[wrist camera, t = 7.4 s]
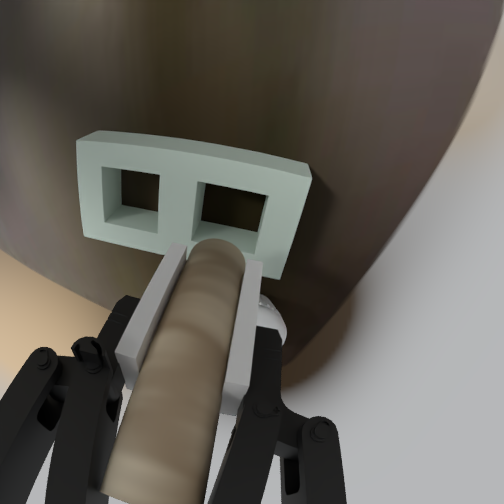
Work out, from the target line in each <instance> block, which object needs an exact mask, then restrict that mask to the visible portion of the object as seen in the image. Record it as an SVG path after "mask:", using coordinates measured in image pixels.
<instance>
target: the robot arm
mask: <svg viewBox="0 0 504 504" xmlns="http://www.w3.org/2000/svg"><path fill="white" fill-rule="evenodd" d="M186 255H187V245H182V244H178V243H173V242H172V244H171V245H170V247H169V249H168V251H167V252H166V254H165V256H164V258H163V259H162V261H161V263H160V265H159V267H158V268H157V270H156V272H155V274H154V276H153V277H152V279H151V281H150V283H149V285H148V287H147V289H146V290H145V292H144V294H143V296H142V298H141V299H139V298H135V297H131V296H128V295H126V296H124V297H123V298H122V299H120V300H119V301H118V302H117V303H116V305H115V307H114V308H113V310H112V313H111V314H110V315H109V317H108V320H107V321H106V323H105V324H104V326H103V328H102V330H101V332H100V333H99V335H98V337H97V338H94V337H83V338H80V339H78V340H77V341H76V342H74V344H73V345H72V347H71V349H72V352H73V354H74V356H75V357H69V356H57V355H56V352H54V351H53V350H52V349H51V348H48V347H40V348H38V349H36V350H35V351H34V352H33V353H32V354H31V355H30V356H29V358H28V359H27V360H26V362H25V364H24V365H23V366H22V368H21V369H20V371H19V372H18V374H17V375H16V377H15V378H14V380H13V381H12V383H11V384H10V386H9V387H8V389H7V391H6V392H5V394H4V395H3V397H2V399H1V400H0V504H26V502H27V499H28V496H29V494H30V492H31V490H32V487H33V485H34V483H35V480H36V478H37V476H38V474H39V472H40V469H41V467H42V465H43V463H44V461H45V458H46V457H47V455H48V452H49V450H50V448H51V447H52V444H53V443H54V447H53V452H52V457H51V463H50V468H49V475H48V481H47V489H46V497H45V504H108V499H109V496H108V495H106V494H104V493H101V492H100V488H101V485H102V481H103V478H104V474H105V471H106V468H107V465H108V461H109V458H110V455H111V452H112V449H113V446H114V442H115V439H116V433H117V427H118V421H119V415H120V410H121V405H122V400H123V397H122V389H123V386H124V384H126V387H127V389H130V390H133V388H134V385H135V383H136V380H137V377H138V375H139V372H140V370H141V367H142V364H143V362H144V359H145V357H146V354H147V352H148V349H149V347H150V344H151V342H152V339H153V337H154V334H155V332H156V330H157V327H158V325H159V322H160V320H161V318H162V315H163V313H164V310H165V308H166V306H167V303H168V301H169V299H170V297H171V294H172V292H173V290H174V287H175V285H176V283H177V281H178V278H179V276H180V274H181V272H182V270H183V267H184V265H185V263H186ZM262 267H263V262H261V261H256V260H251V259H247V262H246V266H245V271H244V275H243V281H242V286H241V291H240V297H239V302H238V308H237V313H236V319H235V324H234V330H233V335H232V340H231V346H230V351H229V357H228V362H227V368H226V374H225V379H224V385H223V390H222V402H221V408H220V413H222V414H227V415H233V416H236V415H237V418H236V424H235V426H234V429H233V430H232V432H231V433H232V435H231V438H230V441H229V444H228V447H227V450H226V453H225V456H224V459H223V461H222V464H221V467H220V470H219V473H218V476H217V479H216V482H215V484H214V487H213V490H212V493H211V496H210V498H209V501H208V504H261V500H262V497H263V493H264V490H265V486H266V482H267V479H268V475H269V471H270V467H271V463H272V459H273V455H274V454H275V455H277V456H280V470H281V471H280V472H281V500H282V501H281V502H282V504H347V502H346V492H345V483H344V474H343V466H342V458H341V451H340V444H339V437H338V431H337V428H336V426H335V424H334V423H333V422H332V421H331V420H329V419H327V418H326V417H321V416H316V417H312V418H310V419H309V418H306V417H304V416H301V415H299V414H297V413H294V412H293V411H291V410H289V409H288V408H287V407H286V406H285V404H284V403H283V401H282V399H281V393H280V390H281V365H282V362H281V360H282V338H281V336H280V334H279V331H278V329H272V328H267V327H262V326H256V323H257V314H258V305H259V295H260V286H261V277H262ZM54 441H55V442H54Z"/></svg>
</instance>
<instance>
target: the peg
mask: <svg viewBox="0 0 504 504" xmlns="http://www.w3.org/2000/svg"><path fill="white" fill-rule="evenodd" d="M245 266H246V262H245V258H244V256H243V254H242V252H241V251H240V250H239V249H238V248H237V247H236V246H235V245H233V244H232V243H230V242H228V241H225V240H222V239H216V238H212V239H205V240H202V241H200V242H199V243H197V244H196V245H195V246H194V247H193V248H192V250H191V252H190V254H189V256H188V259H187V261H186V263H185V265H184V267H183V270H182V272H181V274H180V276H179V278H178V281H177V283H176V285H175V287H174V290H173V292H172V294H171V297H170V299H169V301H168V303H167V306H166V308H165V310H164V313H163V315H162V318H161V320H160V322H159V325H158V327H157V330H156V332H155V334H154V337H153V339H152V342H151V344H150V347H149V349H148V352H147V354H146V357H145V359H144V362H143V364H142V367H141V370H140V372H139V375H138V377H137V380H136V383H135V385H134V388H133V391H132V394H131V397H130V399H129V402H128V405H127V407H126V411H125V413H124V416H123V419H122V422H121V425H120V427H119V431H118V433H117V436H116V439H115V442H114V446H113V449H112V452H111V455H110V458H109V461H108V465H107V468H106V471H105V474H104V478H103V481H102V485H101V488H100V492H101V493H104V494H106V495H108V496H111V497H113V498H116V499H118V500H121V501H124V502H127V503H129V504H204V500H205V494H206V488H207V482H208V477H209V471H210V465H211V459H212V453H213V448H214V442H215V436H216V431H217V425H218V419H219V414H220V408H221V402H222V390H223V385H224V379H225V374H226V368H227V362H228V357H229V351H230V346H231V340H232V335H233V330H234V324H235V319H236V313H237V308H238V302H239V297H240V291H241V286H242V281H243V275H244V271H245Z"/></svg>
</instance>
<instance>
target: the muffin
mask: <svg viewBox="0 0 504 504" xmlns="http://www.w3.org/2000/svg"><path fill="white" fill-rule="evenodd" d="M256 326H262V327H267V328H272V329H278V331H279V334H280V336H281V338H282V345H283V344H284V342H285V340H286V336H287V329H286V325H285V323H284V321H283V318H282V317H281V314H280V313H279V312H278V310H277V309H276V308H275V306H274V305H273V304H272V302H271V301H270V300H269V299H268V298H267V297H266V296H264V295H263V294H262V295H261V294H260V295H259V305H258V314H257V323H256Z"/></svg>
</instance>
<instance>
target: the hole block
mask: <svg viewBox="0 0 504 504" xmlns="http://www.w3.org/2000/svg"><path fill="white" fill-rule="evenodd" d="M76 152H77V175H78V189H79V200H80V209H81V218H82V225H83V233H84V236H85V237H89V238H94V239H98V240H102V241H106V242H110V243H114V244H119V245H123V246H127V247H131V248H136V249H140V250H144V251H149V252H153V253H157V254H162V255H165V254H166V252H167V251H168V249H169V247H170V245H171V244H172V242H173V243H178V244H182V245H187V255H186V260H187V259H188V256H189V254H190V252H191V250H192V248H193V247H194V246H195V245H196V244H197V243H199V242H200V241H202V240H205V239H212V238H216V239H222V240H225V241H228V242H230V243H232V244H233V245H235V246H236V247H237V248H238V249H239V250H240V251H241V252H242V254H243V256H244V258H245V262H247V259H251V260H256V261H261V262H263V267H262V276H264V277H269V278H274V279H279V280H280V278H281V275H282V272H283V269H284V266H285V263H286V260H287V257H288V254H289V251H290V248H291V244H292V241H293V238H294V235H295V232H296V229H297V226H298V223H299V220H300V217H301V213H302V210H303V207H304V204H305V201H306V197H307V194H308V191H309V188H310V184H311V181H312V176H311V173H310V170H309V166H308V164H306V163H302V162H298V161H294V160H290V159H286V158H282V157H278V156H273V155H269V154H264V153H260V152H255V151H250V150H245V149H240V148H235V147H229V146H224V145H218V144H213V143H207V142H201V141H194V140H187V139H180V138H173V137H165V136H157V135H148V134H139V133H128V132H116V131H102V130H98V131H96V132H93V133H91V134H89V135H87V136H85V137H82V138H80V139H78V140H76ZM121 169H125V170H132V171H139V172H146V173H152V174H158V175H160V183H159V204H158V212H156V211H151V210H146V209H141V208H136V207H130V206H125V205H122V199H121ZM206 183H210V184H215V185H220V186H225V187H230V188H235V189H240V190H245V191H250V192H254V193H259V194H263V195H266V199H265V203H264V207H263V211H262V216H261V220H260V224H259V228H258V232H254V231H249V230H245V229H240V228H235V227H230V226H226V225H221V224H216V223H211V222H206V221H201V216H202V208H203V200H204V192H205V185H206Z"/></svg>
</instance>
